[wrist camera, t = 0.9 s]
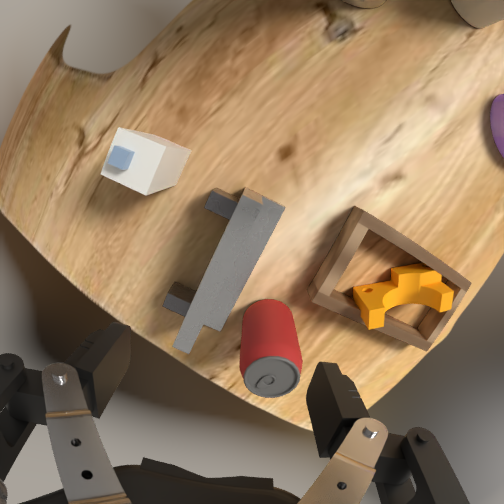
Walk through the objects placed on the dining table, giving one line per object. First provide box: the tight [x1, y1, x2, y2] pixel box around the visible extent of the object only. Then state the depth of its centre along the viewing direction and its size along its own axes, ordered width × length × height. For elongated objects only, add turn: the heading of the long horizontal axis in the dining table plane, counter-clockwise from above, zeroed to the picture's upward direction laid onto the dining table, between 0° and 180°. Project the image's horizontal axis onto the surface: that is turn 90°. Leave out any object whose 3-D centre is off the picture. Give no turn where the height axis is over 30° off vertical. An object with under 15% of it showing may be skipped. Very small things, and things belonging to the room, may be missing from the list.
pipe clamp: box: [353, 262, 454, 330], centre depth 34 cm, size 12×4×6 cm, turn 98°
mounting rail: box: [163, 187, 285, 354], centre depth 32 cm, size 18×8×8 cm, turn 154°
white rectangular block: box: [101, 127, 192, 195], centre depth 27 cm, size 5×5×11 cm
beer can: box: [240, 299, 303, 398], centre depth 33 cm, size 7×7×12 cm
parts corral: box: [307, 206, 471, 351], centre depth 35 cm, size 12×21×4 cm, turn 64°
